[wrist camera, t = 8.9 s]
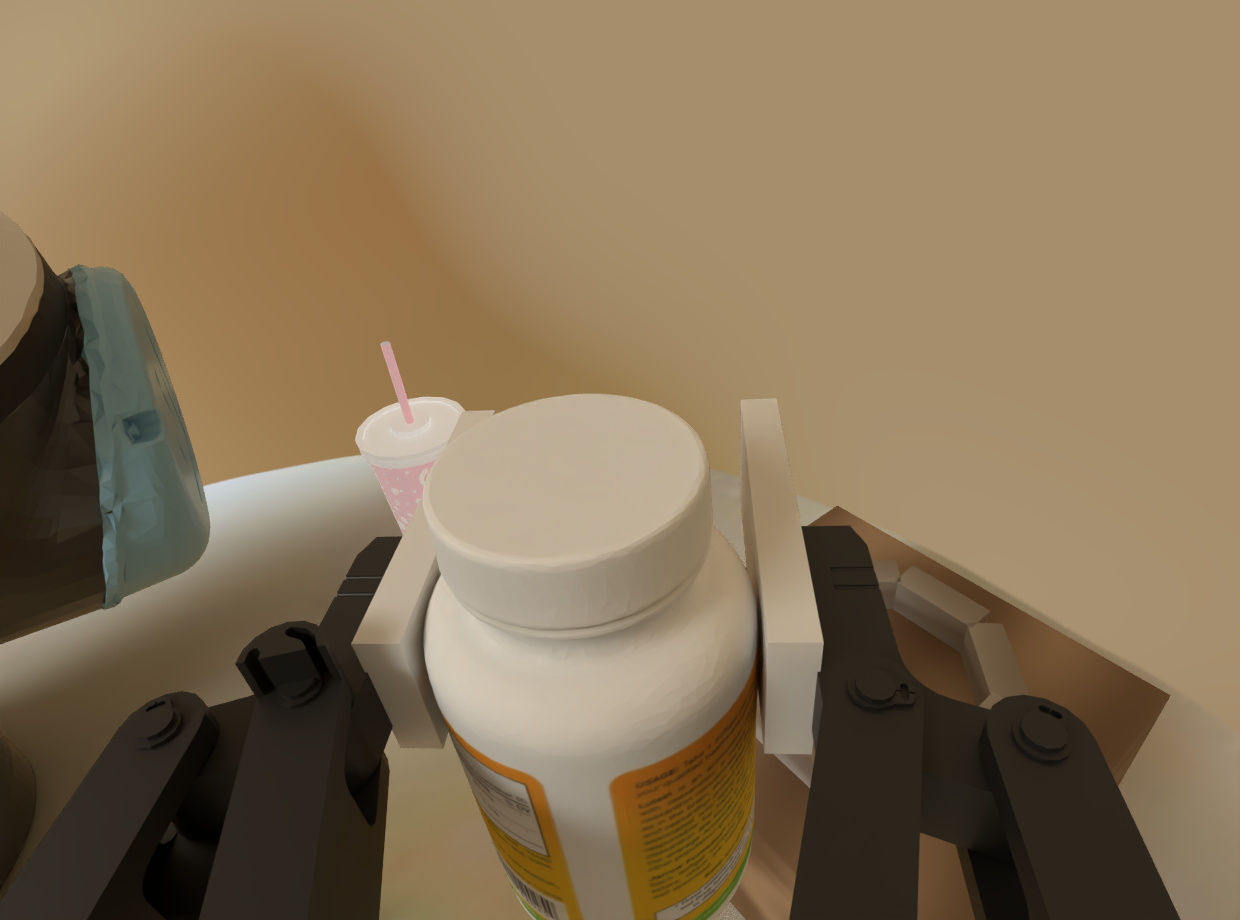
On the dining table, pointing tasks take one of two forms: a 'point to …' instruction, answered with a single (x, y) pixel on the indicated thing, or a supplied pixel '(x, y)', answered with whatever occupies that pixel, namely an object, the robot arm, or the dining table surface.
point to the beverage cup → (406, 442)
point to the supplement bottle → (596, 657)
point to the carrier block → (961, 670)
